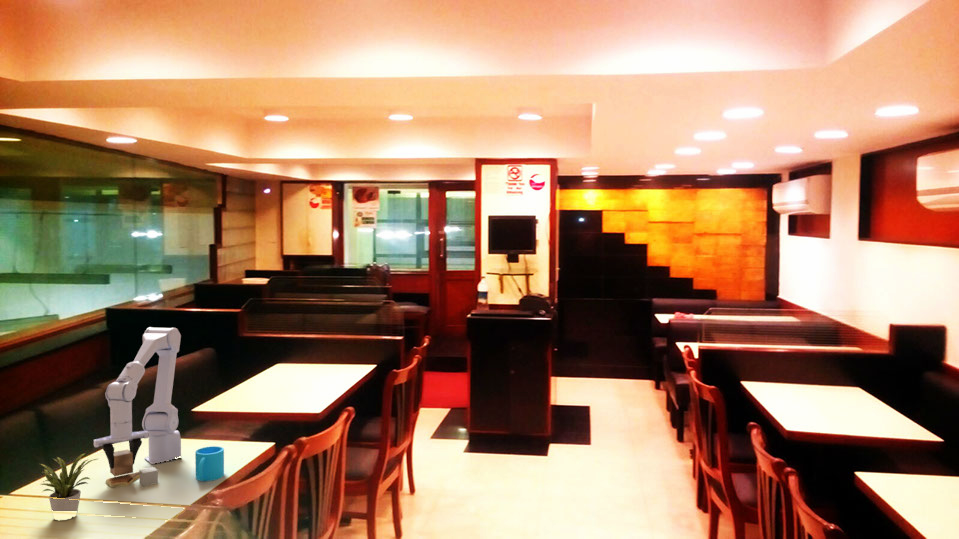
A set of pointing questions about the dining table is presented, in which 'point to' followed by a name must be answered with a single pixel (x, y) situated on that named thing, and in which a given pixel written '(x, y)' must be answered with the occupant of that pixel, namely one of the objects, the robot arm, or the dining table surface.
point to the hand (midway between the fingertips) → (121, 465)
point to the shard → (122, 480)
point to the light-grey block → (148, 476)
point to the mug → (209, 463)
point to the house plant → (65, 486)
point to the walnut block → (122, 463)
